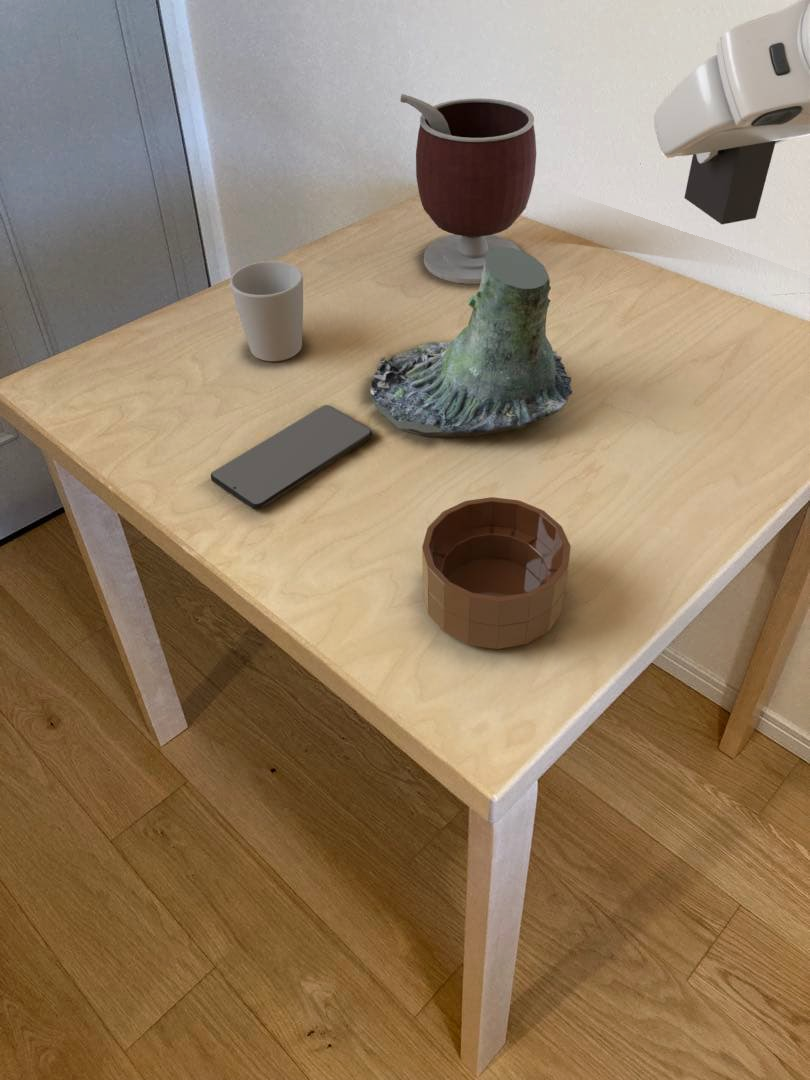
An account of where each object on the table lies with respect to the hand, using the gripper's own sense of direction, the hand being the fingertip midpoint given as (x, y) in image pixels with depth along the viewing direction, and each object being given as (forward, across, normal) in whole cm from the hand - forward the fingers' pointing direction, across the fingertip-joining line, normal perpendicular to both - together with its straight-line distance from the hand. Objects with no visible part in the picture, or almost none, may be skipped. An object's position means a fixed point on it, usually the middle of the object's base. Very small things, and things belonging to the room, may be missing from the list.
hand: (727, 150), depth 77 cm
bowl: (+1, +30, +32) cm, 44 cm away
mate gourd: (+39, +11, -6) cm, 41 cm away
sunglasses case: (+3, 0, +4) cm, 5 cm away
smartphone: (+17, +41, +16) cm, 47 cm away
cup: (+32, +38, +1) cm, 49 cm away
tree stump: (+20, +21, +13) cm, 32 cm away
